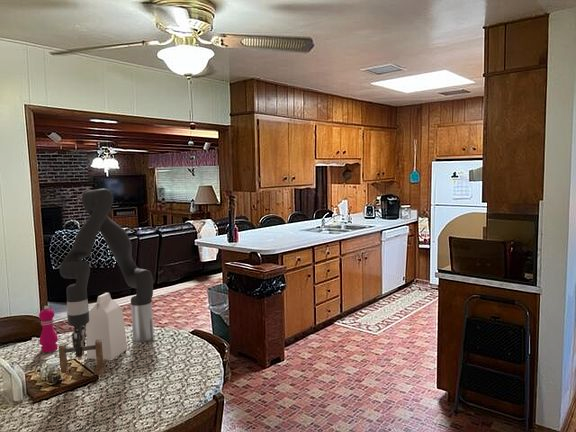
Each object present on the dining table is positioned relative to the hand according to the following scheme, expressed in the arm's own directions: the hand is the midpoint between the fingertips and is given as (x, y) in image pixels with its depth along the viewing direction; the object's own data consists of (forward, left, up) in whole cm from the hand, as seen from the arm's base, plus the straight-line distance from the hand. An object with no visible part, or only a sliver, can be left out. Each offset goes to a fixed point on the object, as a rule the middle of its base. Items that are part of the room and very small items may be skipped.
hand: (80, 353), depth 170 cm
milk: (-7, -17, -8) cm, 20 cm away
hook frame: (0, 0, -8) cm, 8 cm away
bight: (0, 0, -2) cm, 2 cm away
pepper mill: (+19, -30, -8) cm, 36 cm away
